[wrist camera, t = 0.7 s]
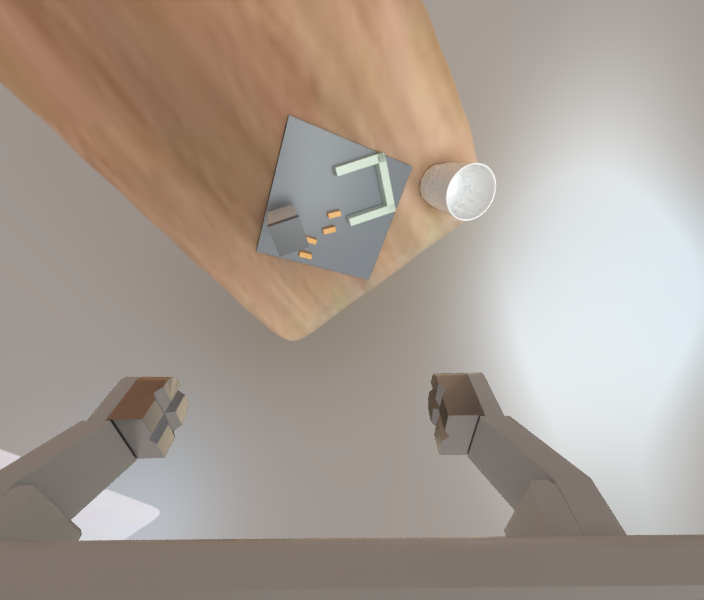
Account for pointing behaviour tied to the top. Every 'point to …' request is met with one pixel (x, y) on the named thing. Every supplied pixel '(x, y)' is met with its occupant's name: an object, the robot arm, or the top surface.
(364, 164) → the end holder
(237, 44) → the top surface
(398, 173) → the board
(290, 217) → the beige container
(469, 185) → the white cup
